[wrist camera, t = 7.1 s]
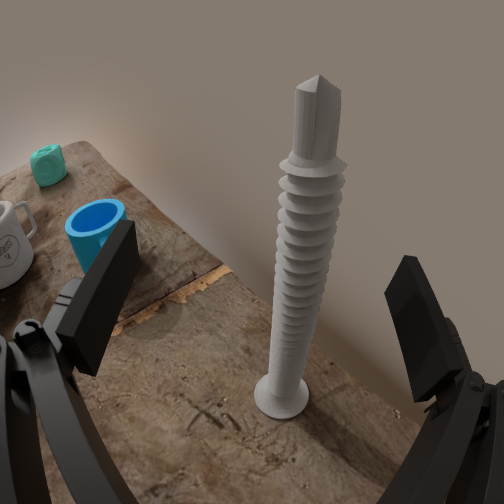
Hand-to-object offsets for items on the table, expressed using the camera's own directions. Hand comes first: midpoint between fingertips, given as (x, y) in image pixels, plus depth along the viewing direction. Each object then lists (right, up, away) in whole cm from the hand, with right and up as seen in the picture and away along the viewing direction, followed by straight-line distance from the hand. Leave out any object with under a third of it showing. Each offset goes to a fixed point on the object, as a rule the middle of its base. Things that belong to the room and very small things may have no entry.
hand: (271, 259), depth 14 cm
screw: (+2, -13, +12) cm, 18 cm away
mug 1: (-40, -2, +26) cm, 48 cm away
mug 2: (-19, -3, +24) cm, 31 cm away
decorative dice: (-50, +18, +49) cm, 72 cm away
